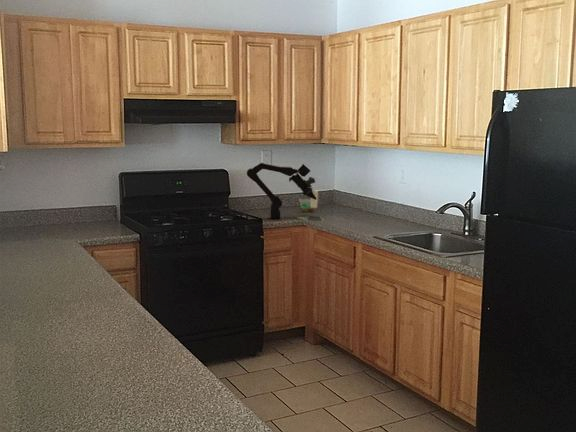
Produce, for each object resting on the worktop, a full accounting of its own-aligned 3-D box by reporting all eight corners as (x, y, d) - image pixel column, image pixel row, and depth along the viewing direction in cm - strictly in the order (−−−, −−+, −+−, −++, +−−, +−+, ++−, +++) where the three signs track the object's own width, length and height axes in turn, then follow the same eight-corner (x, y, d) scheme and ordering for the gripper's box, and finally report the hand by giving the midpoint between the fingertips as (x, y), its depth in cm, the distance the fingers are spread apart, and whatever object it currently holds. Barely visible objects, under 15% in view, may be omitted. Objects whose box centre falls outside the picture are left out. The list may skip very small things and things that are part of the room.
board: (306, 222, 423) (306, 219, 422) (296, 218, 438) (296, 215, 437) (326, 221, 428) (326, 218, 427) (315, 217, 443) (315, 214, 443)
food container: (296, 213, 461) (296, 198, 459) (299, 211, 467) (299, 197, 465) (313, 214, 457) (314, 199, 456) (316, 212, 463) (316, 198, 462)
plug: (310, 208, 434) (310, 190, 432) (310, 207, 438) (310, 190, 436) (318, 209, 434) (318, 191, 432) (318, 208, 438) (318, 190, 436)
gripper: (308, 174, 423) (325, 192, 425) (308, 172, 442) (324, 188, 443) (296, 186, 425) (312, 203, 426) (296, 183, 443) (312, 200, 444)
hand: (316, 198), depth 435 cm, fingers closed on plug, 4 cm apart
